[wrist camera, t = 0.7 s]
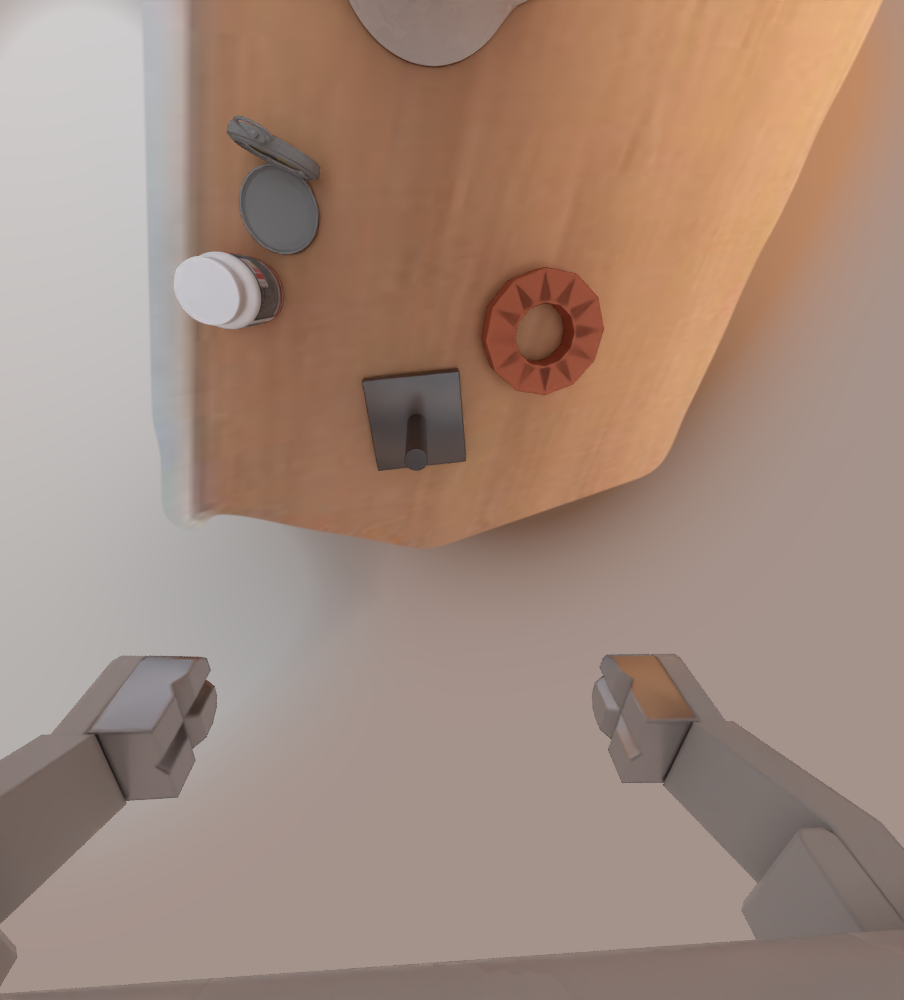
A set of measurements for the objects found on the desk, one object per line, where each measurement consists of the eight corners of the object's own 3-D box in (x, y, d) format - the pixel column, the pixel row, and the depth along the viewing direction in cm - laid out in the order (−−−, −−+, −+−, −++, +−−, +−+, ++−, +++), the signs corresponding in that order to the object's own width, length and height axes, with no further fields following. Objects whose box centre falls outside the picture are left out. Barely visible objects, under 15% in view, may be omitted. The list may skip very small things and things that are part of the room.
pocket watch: (261, 262, 39) (215, 254, 31) (220, 150, 36) (154, 103, 27) (346, 241, 39) (325, 227, 30) (314, 126, 35) (279, 71, 27)
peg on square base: (363, 378, 45) (345, 407, 34) (457, 368, 45) (470, 394, 34) (379, 466, 49) (367, 517, 38) (464, 456, 49) (478, 505, 38)
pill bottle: (250, 242, 39) (201, 228, 30) (297, 297, 41) (263, 299, 32) (208, 285, 40) (149, 283, 31) (256, 336, 42) (213, 348, 33)
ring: (496, 260, 41) (502, 258, 38) (605, 283, 42) (618, 282, 39) (473, 378, 46) (477, 384, 43) (572, 394, 47) (582, 401, 44)
